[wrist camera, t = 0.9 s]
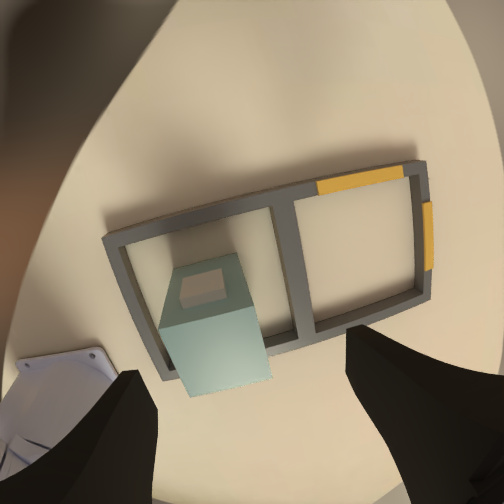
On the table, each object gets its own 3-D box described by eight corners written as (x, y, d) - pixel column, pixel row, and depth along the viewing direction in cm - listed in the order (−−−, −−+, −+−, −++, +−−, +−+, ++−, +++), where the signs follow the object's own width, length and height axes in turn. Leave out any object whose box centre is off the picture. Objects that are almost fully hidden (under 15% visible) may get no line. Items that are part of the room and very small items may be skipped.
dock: (164, 371, 20) (162, 383, 19) (107, 233, 17) (100, 238, 16) (421, 293, 22) (431, 300, 20) (415, 159, 18) (427, 161, 17)
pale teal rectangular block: (192, 323, 20) (189, 397, 13) (171, 261, 18) (153, 319, 11) (251, 308, 20) (272, 378, 13) (234, 244, 18) (251, 294, 12)
